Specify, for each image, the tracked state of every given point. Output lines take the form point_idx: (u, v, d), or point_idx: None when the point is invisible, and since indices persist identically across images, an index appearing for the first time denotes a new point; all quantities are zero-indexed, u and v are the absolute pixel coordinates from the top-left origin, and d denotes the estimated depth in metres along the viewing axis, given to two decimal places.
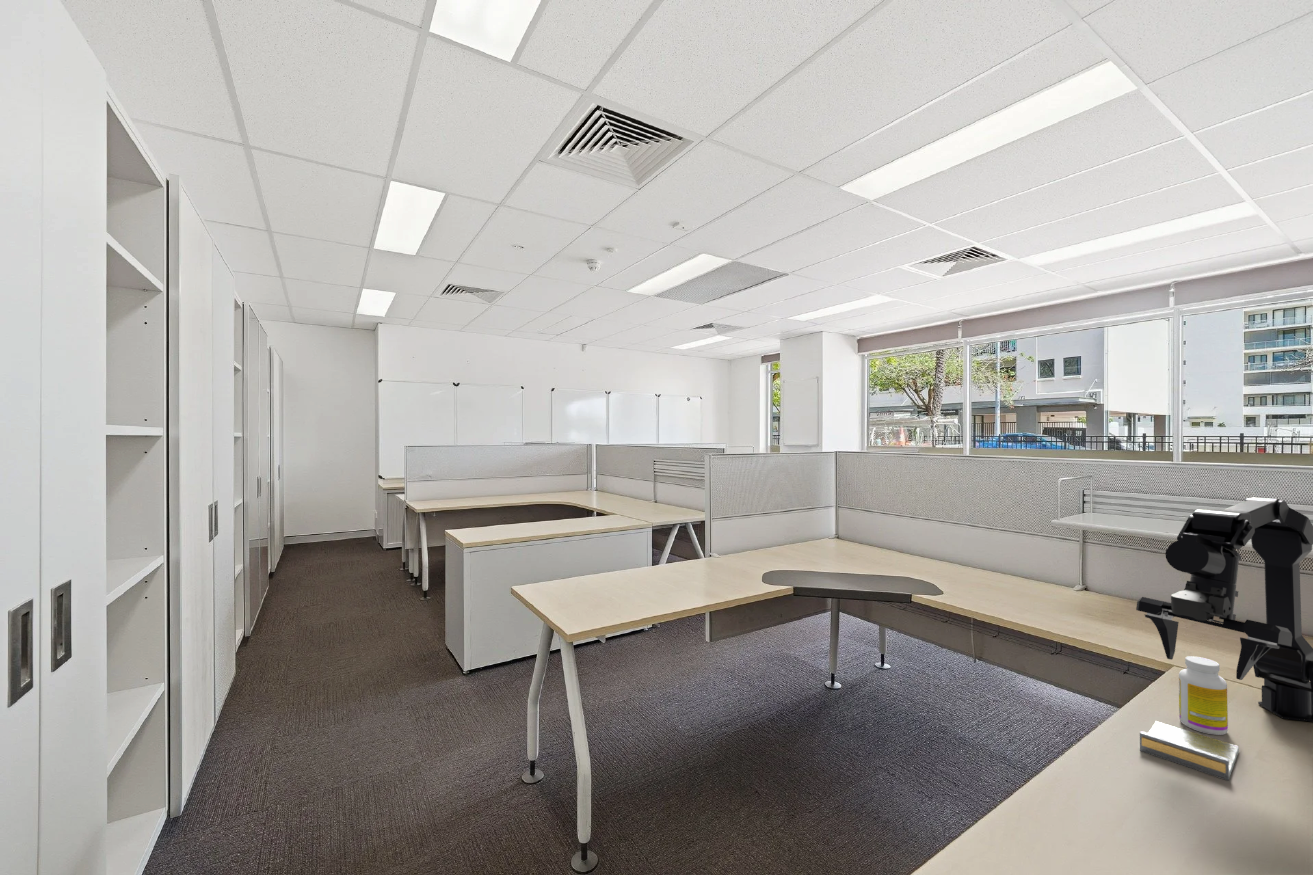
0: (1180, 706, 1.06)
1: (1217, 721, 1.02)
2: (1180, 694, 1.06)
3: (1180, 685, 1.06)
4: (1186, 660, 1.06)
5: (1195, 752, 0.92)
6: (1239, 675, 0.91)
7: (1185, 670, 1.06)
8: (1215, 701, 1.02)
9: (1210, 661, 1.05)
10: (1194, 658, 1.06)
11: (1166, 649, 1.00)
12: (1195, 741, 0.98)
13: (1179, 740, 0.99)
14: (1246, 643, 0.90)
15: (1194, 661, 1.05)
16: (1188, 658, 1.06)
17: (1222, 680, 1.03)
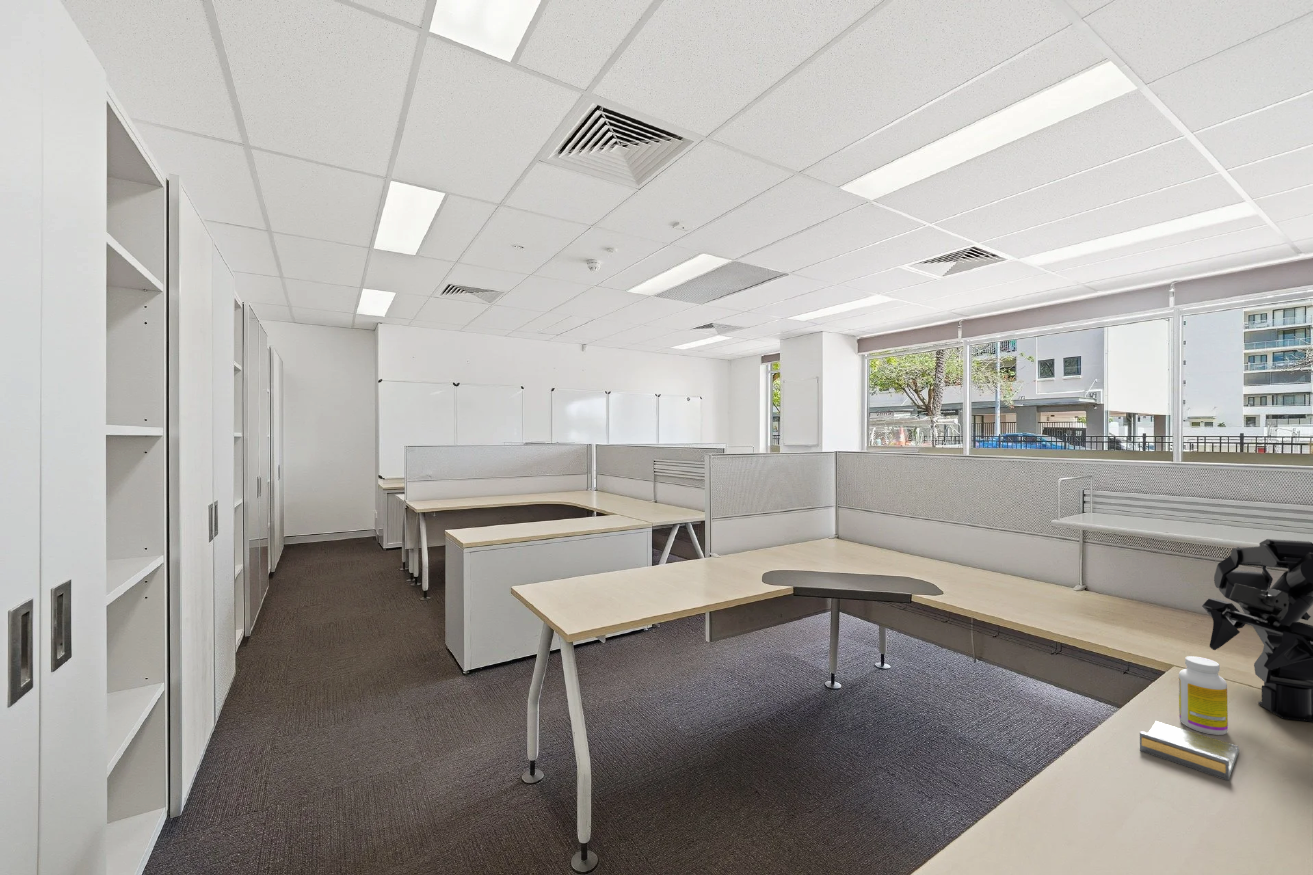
0: (1180, 706, 1.06)
1: (1217, 721, 1.02)
2: (1180, 694, 1.06)
3: (1180, 685, 1.06)
4: (1186, 660, 1.06)
5: (1195, 752, 0.92)
6: (1267, 663, 1.01)
7: (1185, 670, 1.06)
8: (1215, 701, 1.02)
9: (1210, 661, 1.05)
10: (1194, 658, 1.06)
11: (1212, 639, 1.10)
12: (1195, 741, 0.98)
13: (1179, 740, 0.99)
14: (1287, 637, 1.00)
15: (1194, 661, 1.05)
16: (1188, 658, 1.06)
17: (1222, 680, 1.03)
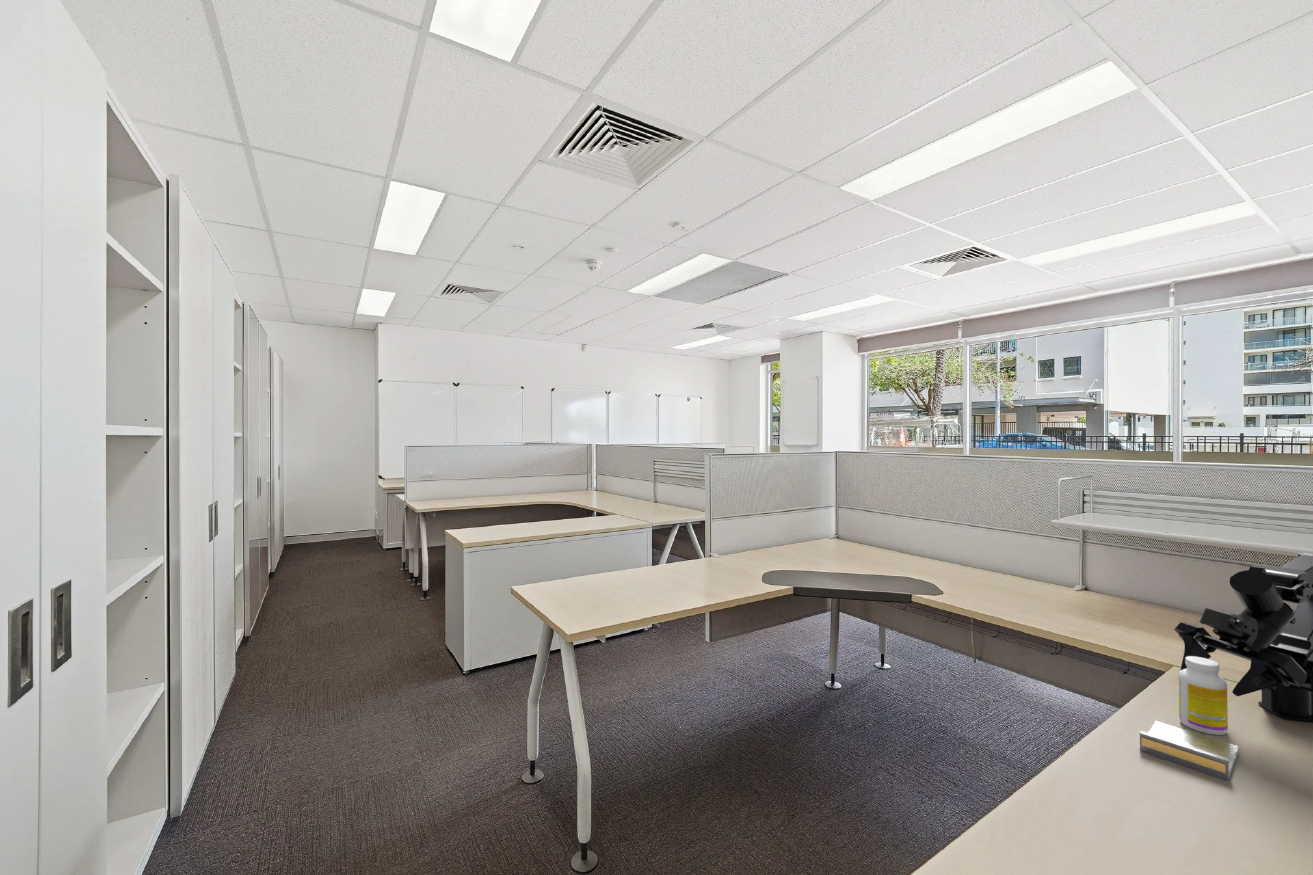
0: (1180, 706, 1.06)
1: (1217, 721, 1.02)
2: (1180, 694, 1.06)
3: (1180, 685, 1.06)
4: (1186, 660, 1.06)
5: (1195, 752, 0.92)
6: (1236, 689, 1.00)
7: (1185, 670, 1.06)
8: (1215, 701, 1.02)
9: (1210, 661, 1.05)
10: (1194, 658, 1.06)
11: (1183, 663, 1.10)
12: (1195, 741, 0.98)
13: (1179, 740, 0.99)
14: (1255, 663, 0.99)
15: (1194, 661, 1.05)
16: (1188, 658, 1.06)
17: (1222, 680, 1.03)
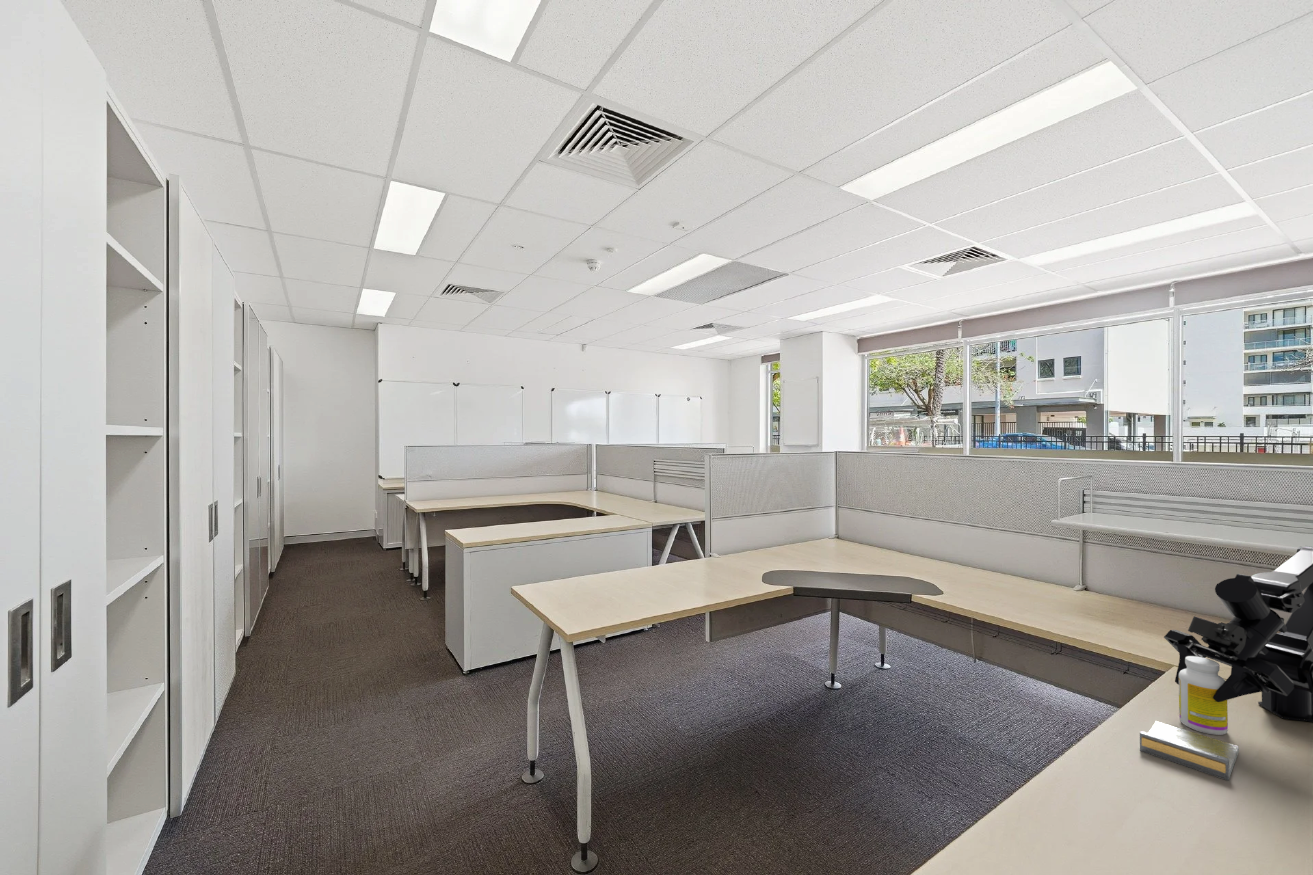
0: (1180, 706, 1.06)
1: (1217, 721, 1.02)
2: (1180, 694, 1.06)
3: (1180, 685, 1.06)
4: (1186, 660, 1.06)
5: (1195, 752, 0.92)
6: (1216, 695, 1.01)
7: (1185, 670, 1.06)
8: (1215, 701, 1.02)
9: (1210, 661, 1.05)
10: (1194, 658, 1.06)
11: (1178, 674, 1.09)
12: (1195, 741, 0.98)
13: (1179, 740, 0.99)
14: (1235, 670, 1.00)
15: (1194, 661, 1.05)
16: (1188, 658, 1.06)
17: (1222, 680, 1.03)
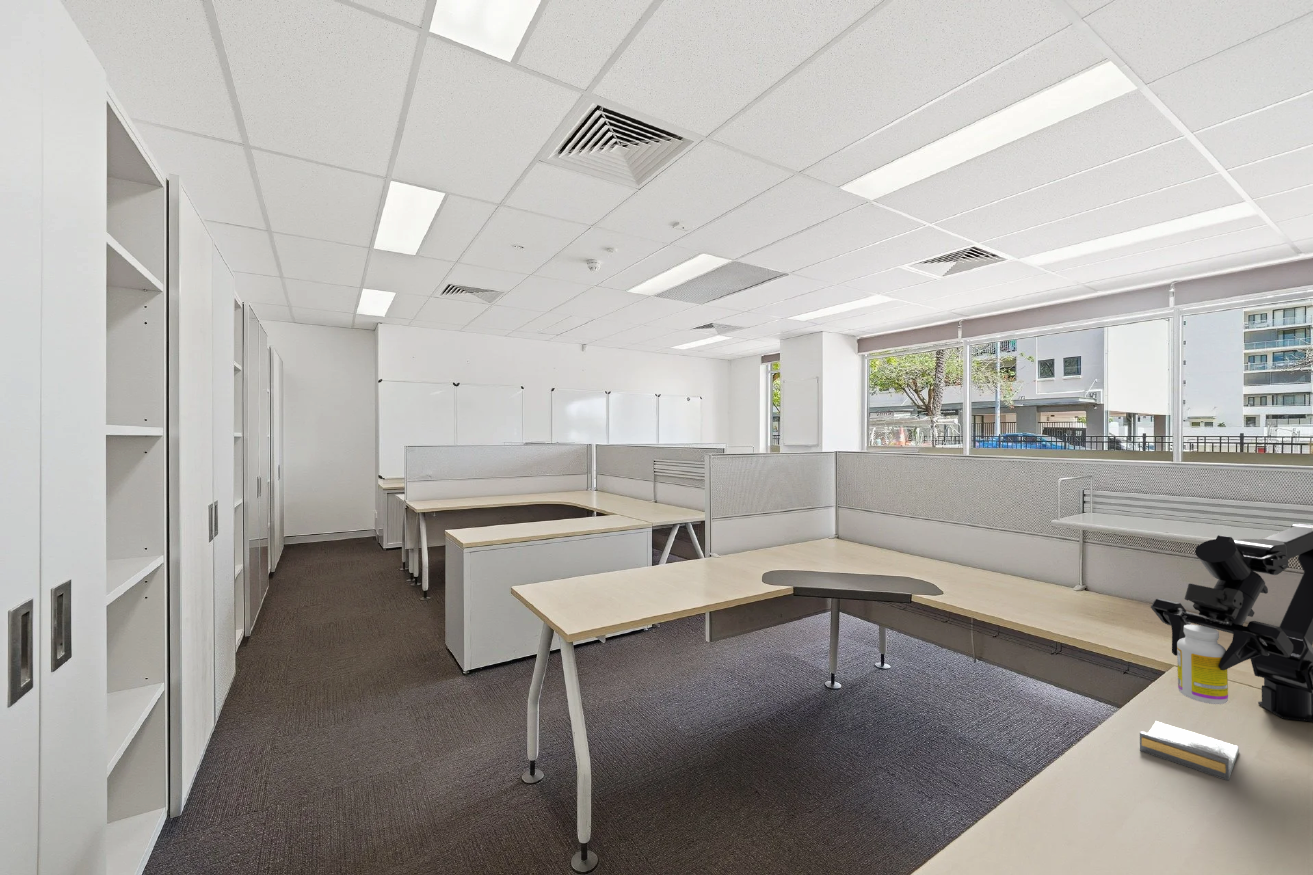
0: (1181, 678, 1.02)
1: (1221, 690, 0.98)
2: (1181, 665, 1.02)
3: (1181, 656, 1.02)
4: (1186, 629, 1.02)
5: (1195, 752, 0.92)
6: (1222, 664, 0.98)
7: (1184, 640, 1.03)
8: (1219, 669, 0.98)
9: (1208, 628, 1.02)
10: (1192, 627, 1.03)
11: (1174, 644, 1.05)
12: (1195, 741, 0.98)
13: (1179, 740, 0.99)
14: (1238, 635, 0.98)
15: (1196, 630, 1.01)
16: (1187, 627, 1.03)
17: (1222, 647, 1.00)
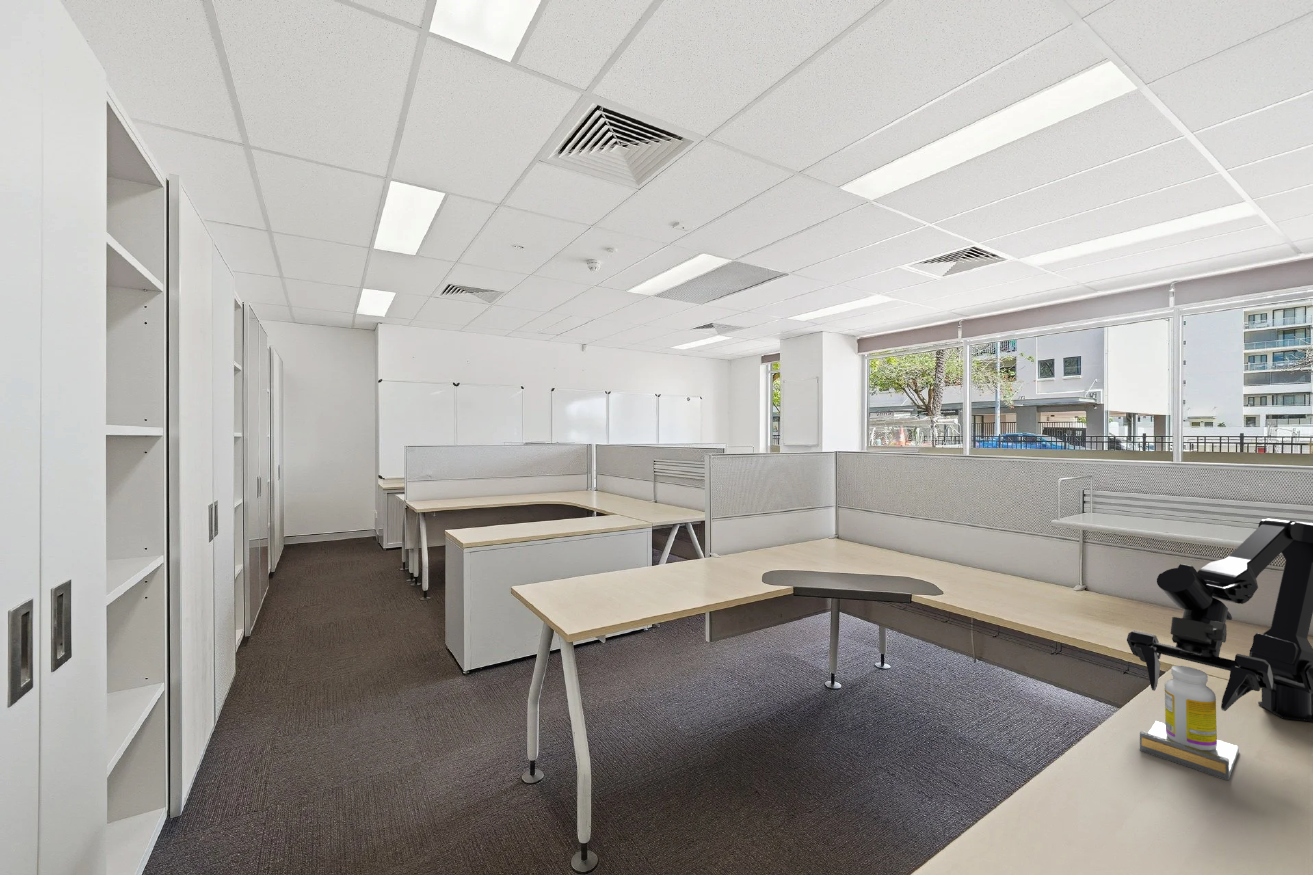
0: (1173, 724, 0.98)
1: (1214, 735, 0.95)
2: (1173, 711, 0.98)
3: (1173, 701, 0.98)
4: (1177, 673, 0.98)
5: (1195, 752, 0.92)
6: (1224, 704, 0.94)
7: (1175, 683, 0.99)
8: (1212, 714, 0.95)
9: (1193, 669, 0.99)
10: (1181, 669, 0.99)
11: (1151, 678, 1.02)
12: None
13: None
14: (1236, 673, 0.94)
15: (1188, 674, 0.97)
16: (1177, 670, 0.99)
17: (1210, 689, 0.97)
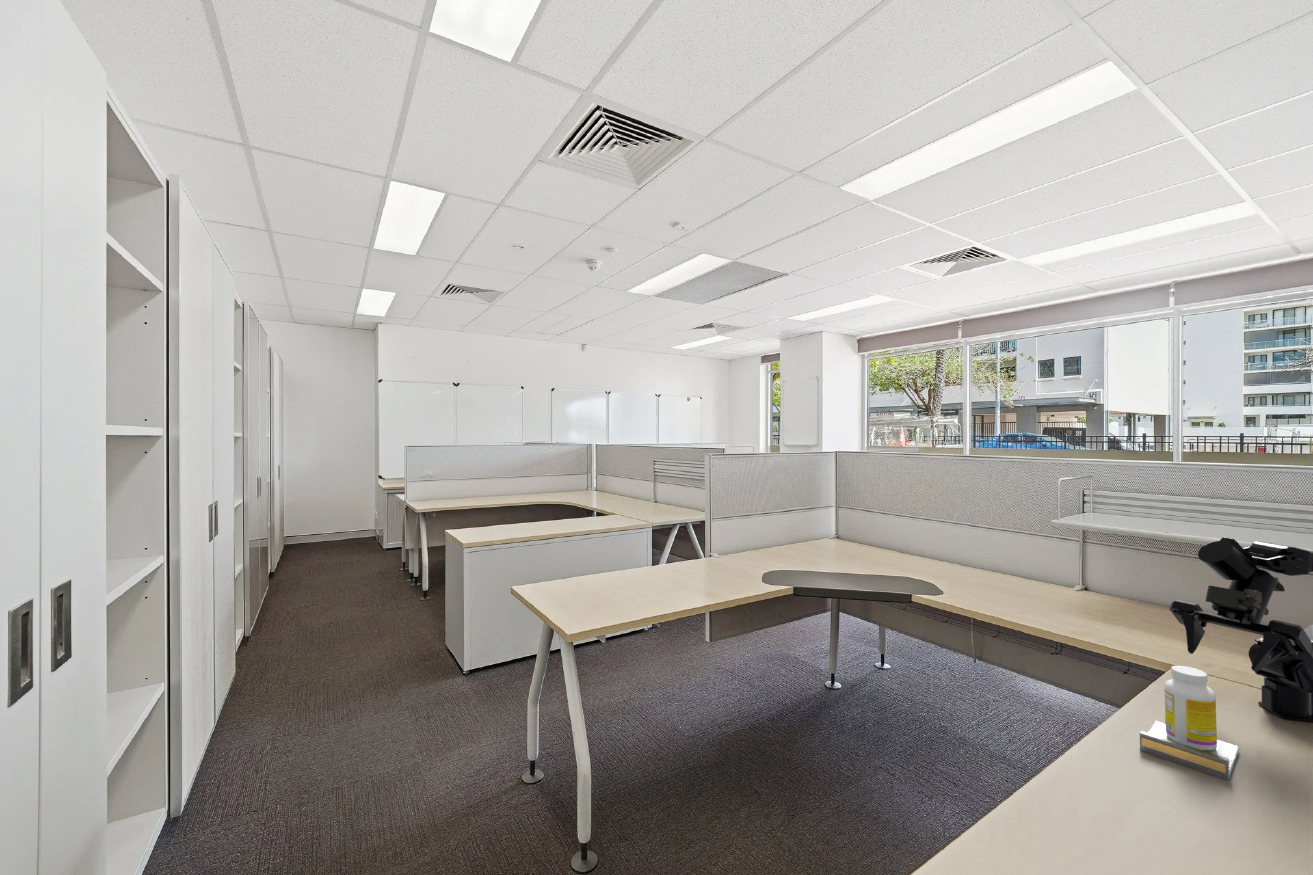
0: (1173, 724, 0.98)
1: (1214, 735, 0.95)
2: (1173, 711, 0.98)
3: (1173, 701, 0.98)
4: (1177, 673, 0.98)
5: (1195, 752, 0.92)
6: (1254, 665, 1.00)
7: (1175, 683, 0.99)
8: (1212, 714, 0.95)
9: (1193, 669, 0.99)
10: (1180, 669, 0.99)
11: (1189, 643, 1.09)
12: None
13: None
14: (1268, 637, 1.00)
15: (1188, 674, 0.97)
16: (1177, 670, 0.99)
17: (1210, 689, 0.97)
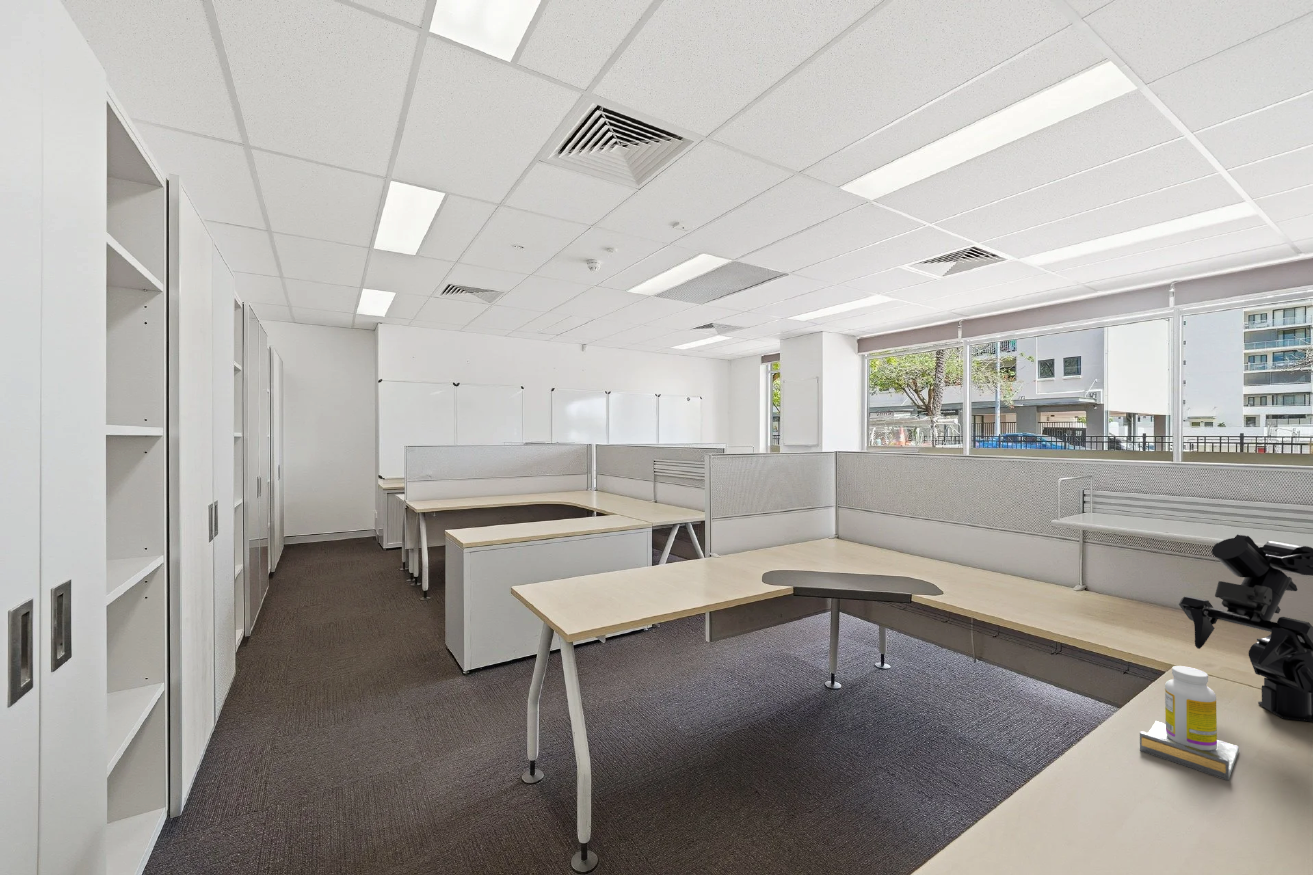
0: (1174, 724, 0.98)
1: (1214, 735, 0.95)
2: (1174, 711, 0.98)
3: (1174, 701, 0.98)
4: (1178, 673, 0.98)
5: (1195, 752, 0.92)
6: (1261, 660, 1.01)
7: (1175, 683, 0.99)
8: (1213, 714, 0.95)
9: (1194, 670, 0.99)
10: (1181, 669, 0.99)
11: (1196, 638, 1.10)
12: None
13: None
14: (1276, 633, 1.01)
15: (1189, 674, 0.97)
16: (1178, 670, 0.99)
17: (1211, 689, 0.97)
